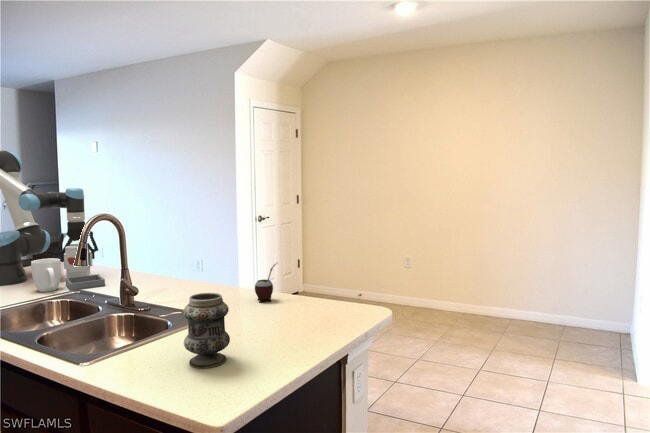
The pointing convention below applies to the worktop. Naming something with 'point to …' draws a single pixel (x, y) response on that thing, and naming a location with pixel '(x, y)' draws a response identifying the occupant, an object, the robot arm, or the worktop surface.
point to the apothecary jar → (206, 329)
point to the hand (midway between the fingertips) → (78, 267)
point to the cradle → (84, 282)
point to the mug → (46, 274)
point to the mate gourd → (264, 289)
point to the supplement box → (70, 258)
